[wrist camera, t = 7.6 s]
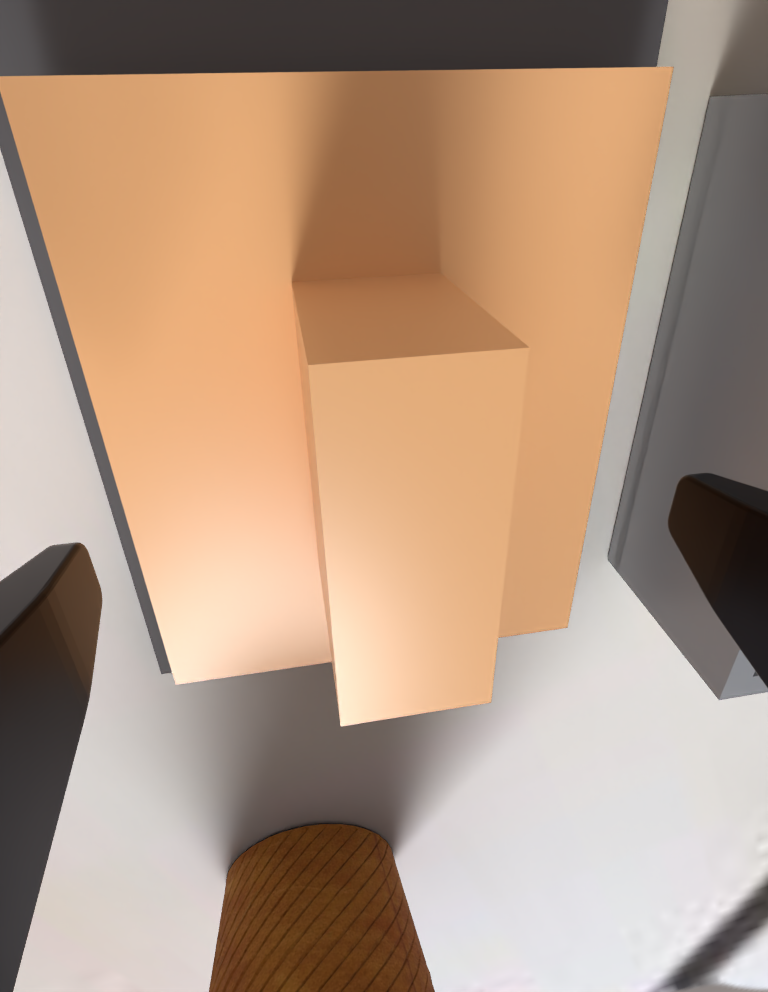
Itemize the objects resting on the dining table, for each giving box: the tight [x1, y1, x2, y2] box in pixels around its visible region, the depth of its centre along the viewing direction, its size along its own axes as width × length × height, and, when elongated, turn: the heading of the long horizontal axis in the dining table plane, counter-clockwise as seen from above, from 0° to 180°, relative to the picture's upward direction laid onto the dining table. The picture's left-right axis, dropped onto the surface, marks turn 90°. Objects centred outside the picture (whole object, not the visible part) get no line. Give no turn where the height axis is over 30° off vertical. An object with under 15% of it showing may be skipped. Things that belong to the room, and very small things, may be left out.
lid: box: [0, 67, 674, 726], centre depth 11 cm, size 10×12×6 cm
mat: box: [0, 0, 668, 674], centre depth 13 cm, size 11×14×1 cm
